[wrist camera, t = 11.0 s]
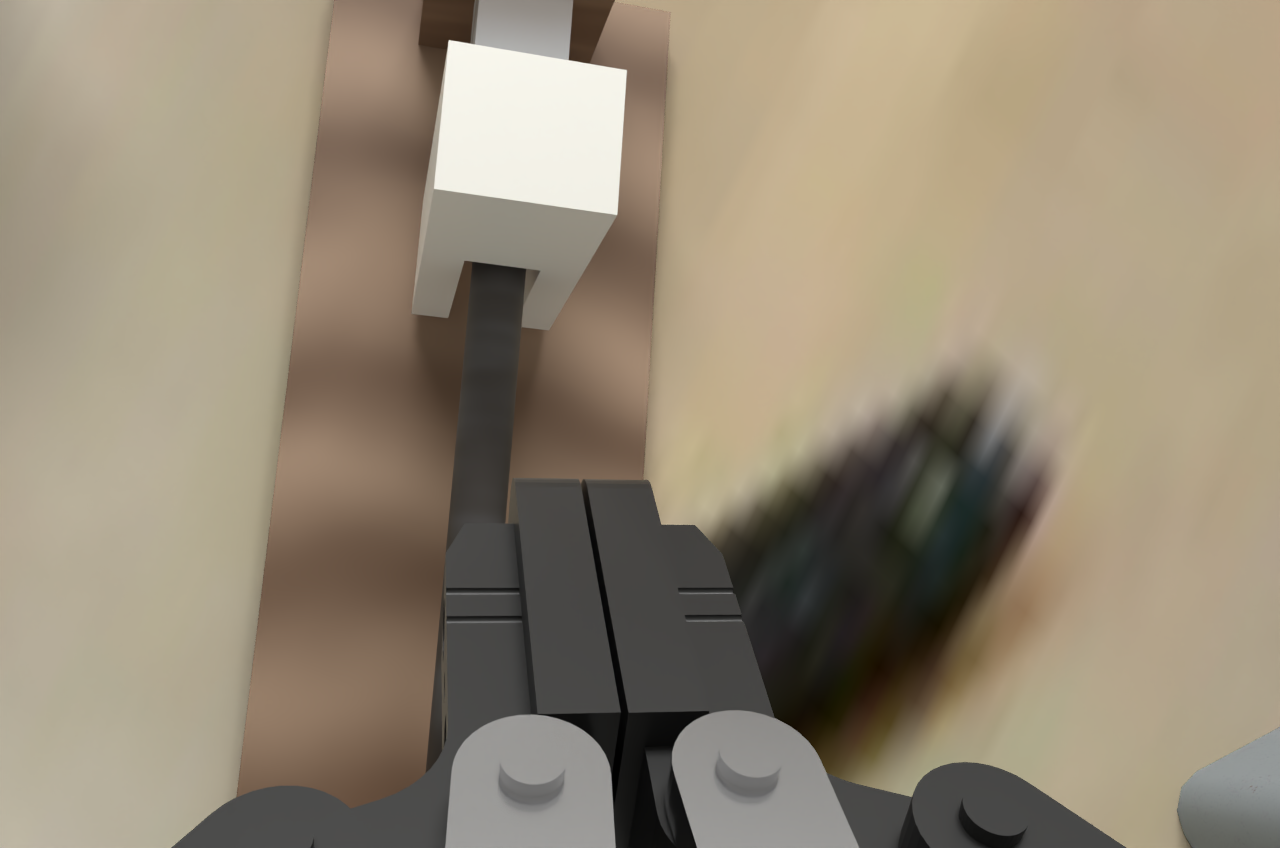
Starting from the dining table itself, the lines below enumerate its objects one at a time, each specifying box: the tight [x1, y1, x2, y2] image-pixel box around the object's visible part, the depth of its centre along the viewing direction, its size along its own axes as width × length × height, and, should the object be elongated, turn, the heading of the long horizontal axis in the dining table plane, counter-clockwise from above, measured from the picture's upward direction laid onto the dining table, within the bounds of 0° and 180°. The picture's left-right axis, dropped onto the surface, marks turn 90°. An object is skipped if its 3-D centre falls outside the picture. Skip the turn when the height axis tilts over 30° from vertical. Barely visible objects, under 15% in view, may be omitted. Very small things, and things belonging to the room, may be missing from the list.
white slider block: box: [412, 40, 627, 330], centre depth 36 cm, size 4×5×11 cm
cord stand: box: [237, 0, 671, 809], centre depth 38 cm, size 32×12×10 cm, turn 177°
